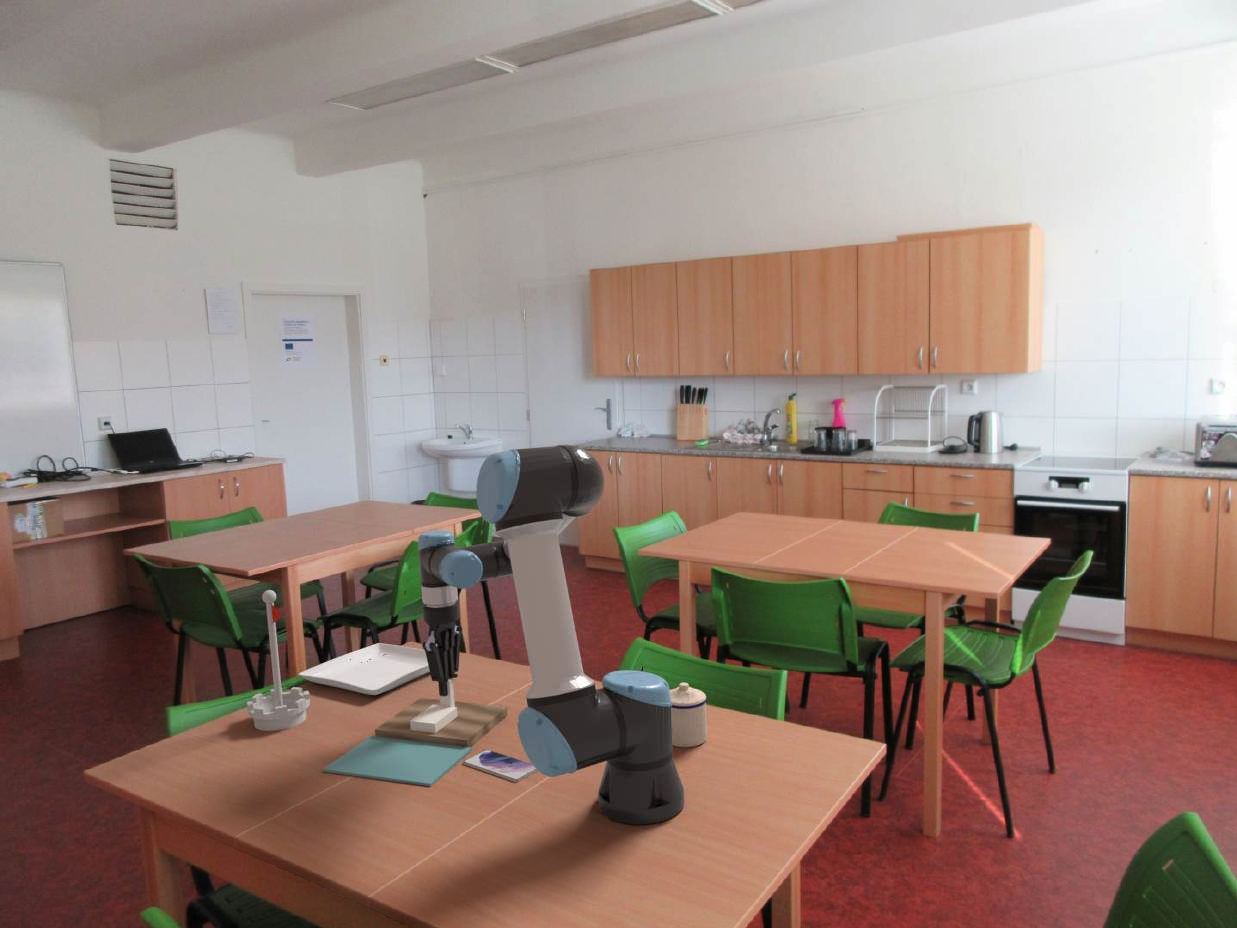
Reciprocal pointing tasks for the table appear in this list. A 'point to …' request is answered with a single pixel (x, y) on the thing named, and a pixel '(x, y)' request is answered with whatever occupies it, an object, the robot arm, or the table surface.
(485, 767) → the smartphone
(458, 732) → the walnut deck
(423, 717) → the ceramic tile
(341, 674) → the square plate
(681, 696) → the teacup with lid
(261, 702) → the flag stand
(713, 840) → the table surface
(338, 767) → the teal mat
